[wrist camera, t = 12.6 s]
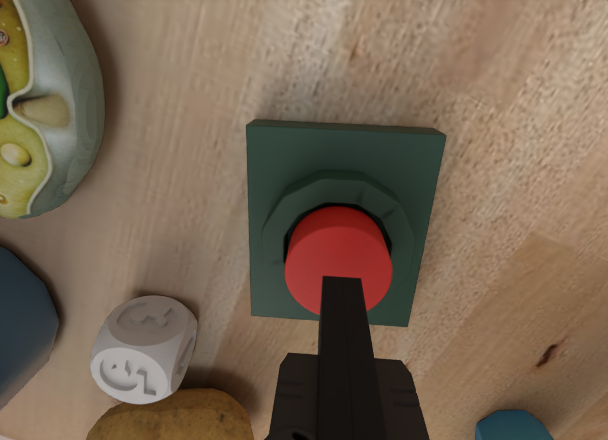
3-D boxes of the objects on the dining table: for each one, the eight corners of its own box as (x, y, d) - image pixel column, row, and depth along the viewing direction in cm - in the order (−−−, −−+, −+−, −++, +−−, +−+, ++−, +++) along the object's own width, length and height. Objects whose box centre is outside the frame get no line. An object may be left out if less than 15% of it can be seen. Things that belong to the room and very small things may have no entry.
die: (195, 353, 27) (167, 412, 22) (131, 340, 27) (90, 396, 22) (200, 302, 25) (171, 355, 20) (131, 288, 24) (86, 338, 20)
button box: (400, 305, 24) (414, 348, 20) (257, 295, 24) (244, 335, 20) (434, 128, 19) (460, 141, 15) (254, 119, 19) (237, 130, 16)
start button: (378, 291, 19) (384, 322, 17) (288, 285, 19) (283, 314, 17) (390, 208, 17) (400, 229, 15) (290, 202, 17) (285, 222, 15)
